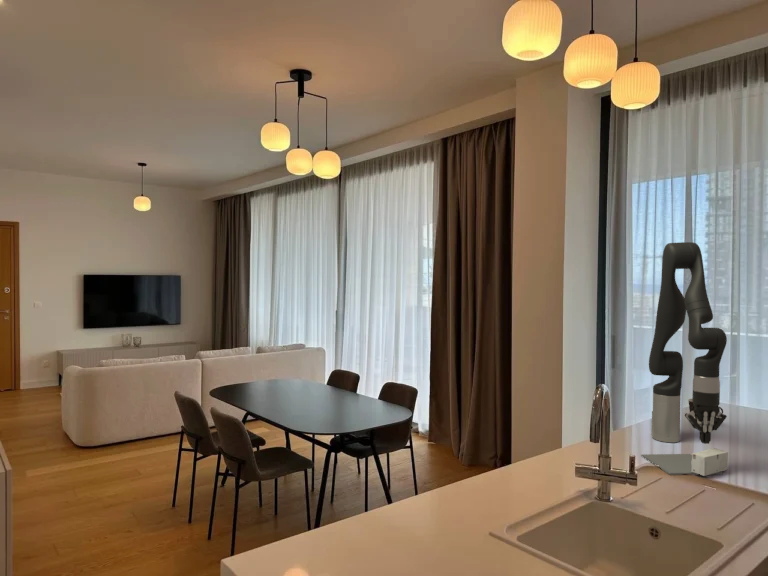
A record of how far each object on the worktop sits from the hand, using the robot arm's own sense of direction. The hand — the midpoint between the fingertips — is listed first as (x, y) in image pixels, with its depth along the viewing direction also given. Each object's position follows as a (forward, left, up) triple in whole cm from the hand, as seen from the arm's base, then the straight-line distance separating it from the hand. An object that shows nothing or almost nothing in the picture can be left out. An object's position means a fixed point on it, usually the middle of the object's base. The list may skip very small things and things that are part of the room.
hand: (704, 442), depth 175 cm
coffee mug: (-45, +29, -8) cm, 54 cm away
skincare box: (+2, +4, -4) cm, 6 cm away
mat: (-2, -6, -8) cm, 11 cm away
